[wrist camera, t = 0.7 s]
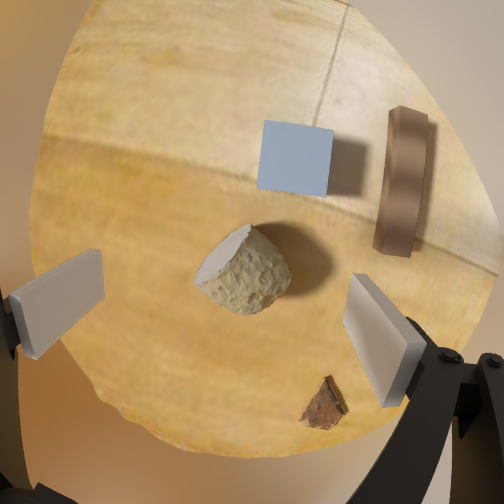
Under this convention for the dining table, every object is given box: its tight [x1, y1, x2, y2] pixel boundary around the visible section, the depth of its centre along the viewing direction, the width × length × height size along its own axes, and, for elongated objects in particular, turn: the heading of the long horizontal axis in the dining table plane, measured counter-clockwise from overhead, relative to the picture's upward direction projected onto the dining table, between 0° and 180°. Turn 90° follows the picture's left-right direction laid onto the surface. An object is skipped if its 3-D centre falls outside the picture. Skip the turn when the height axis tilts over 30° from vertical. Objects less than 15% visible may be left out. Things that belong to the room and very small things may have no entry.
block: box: [257, 120, 334, 198], centre depth 31 cm, size 7×7×6 cm
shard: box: [297, 377, 346, 430], centre depth 42 cm, size 11×8×2 cm
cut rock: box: [194, 224, 292, 315], centre depth 32 cm, size 10×10×10 cm
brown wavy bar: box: [373, 106, 428, 258], centre depth 32 cm, size 18×4×4 cm, turn 174°
